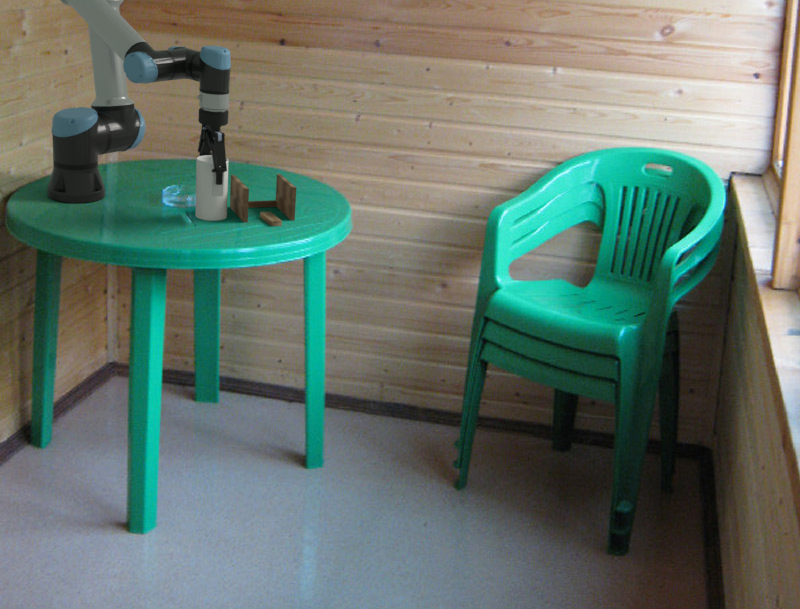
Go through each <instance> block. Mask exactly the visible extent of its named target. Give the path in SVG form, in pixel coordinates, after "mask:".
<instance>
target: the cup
mask: <svg viewBox="0 0 800 609" xmlns="http://www.w3.org/2000/svg"><path fill="white" fill-rule="evenodd" d="M195 162H196V165H195V166H196V168H195V169H196V170H195V217H196V218H198V219H199V220H203V221H215V222H216V221H222V220H225V219H226V218H227V217H228V194H229V193H228V191H229V190H228V188H229V158H228V157H226V166H227V171H226V172H224V185H223V196H212V183H213V172H212V169H214V165H213V158H212V155H204V156H200V155H199V156H197V157H196V161H195ZM219 167H221V166H219Z"/></svg>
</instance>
